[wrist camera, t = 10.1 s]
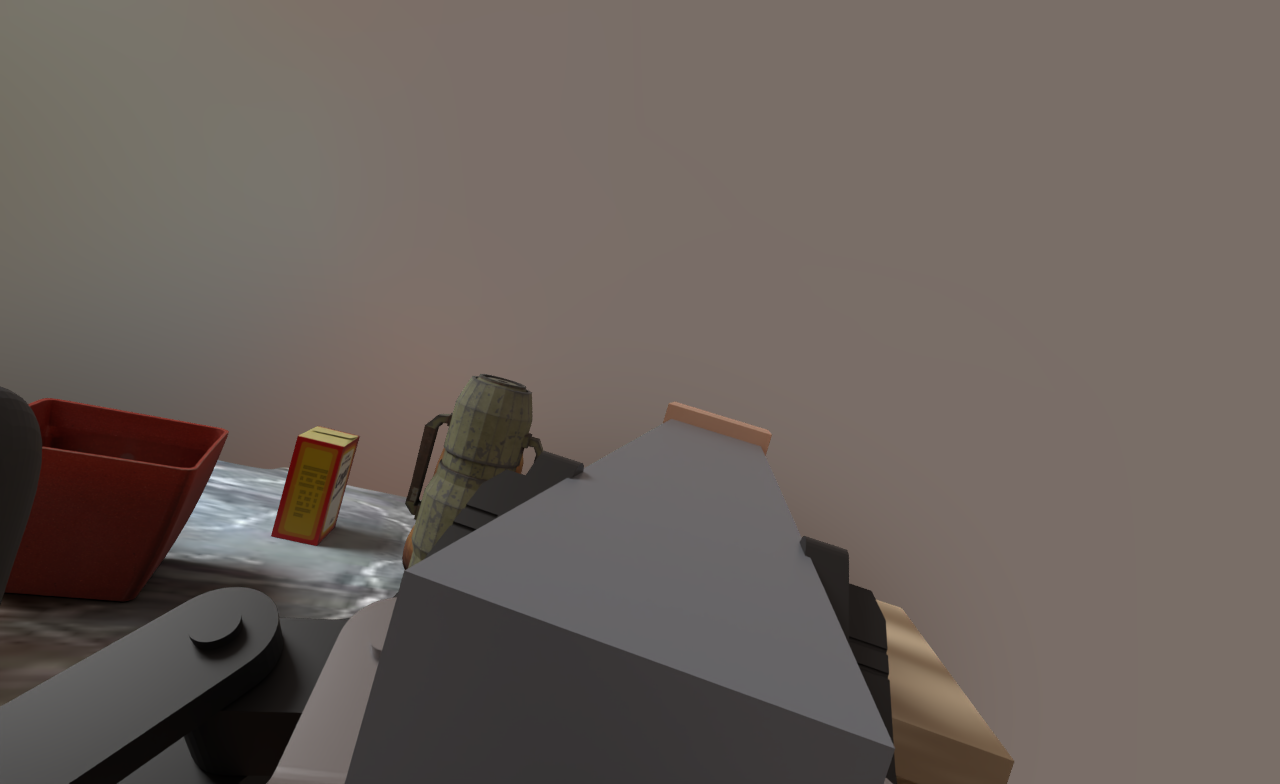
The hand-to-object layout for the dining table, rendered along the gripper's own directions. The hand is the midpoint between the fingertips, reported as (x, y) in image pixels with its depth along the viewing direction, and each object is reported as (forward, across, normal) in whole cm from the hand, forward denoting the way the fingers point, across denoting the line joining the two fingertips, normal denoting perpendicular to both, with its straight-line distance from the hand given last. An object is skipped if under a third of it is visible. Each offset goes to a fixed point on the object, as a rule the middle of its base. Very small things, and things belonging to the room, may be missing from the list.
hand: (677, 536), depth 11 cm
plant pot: (+25, +63, +59) cm, 90 cm away
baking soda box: (+51, +57, +74) cm, 106 cm away
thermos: (+24, +21, +58) cm, 66 cm away
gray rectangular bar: (+4, 0, +6) cm, 7 cm away
